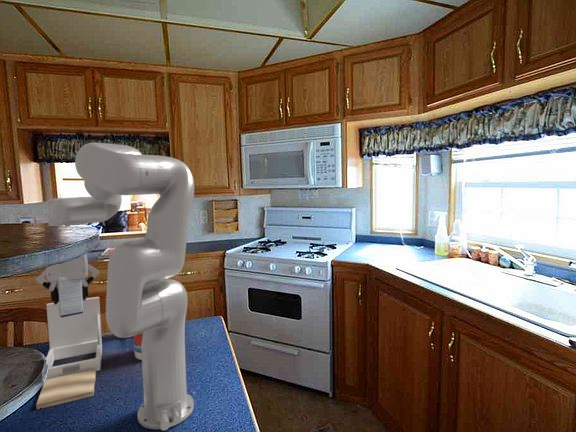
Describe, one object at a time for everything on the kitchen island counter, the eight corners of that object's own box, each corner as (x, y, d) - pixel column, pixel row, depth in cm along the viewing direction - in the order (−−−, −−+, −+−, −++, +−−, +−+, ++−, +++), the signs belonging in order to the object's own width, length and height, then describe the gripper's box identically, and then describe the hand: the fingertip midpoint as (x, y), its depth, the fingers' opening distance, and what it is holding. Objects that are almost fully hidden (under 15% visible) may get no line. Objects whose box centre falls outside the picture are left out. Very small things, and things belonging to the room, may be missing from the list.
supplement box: (84, 313, 101) (81, 274, 100) (60, 318, 98) (56, 278, 97) (82, 307, 106) (79, 271, 105) (59, 312, 103) (55, 274, 102)
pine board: (93, 395, 89) (93, 391, 88) (36, 409, 83) (36, 404, 83) (96, 372, 99) (95, 368, 99) (45, 383, 94) (45, 379, 94)
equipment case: (100, 371, 100) (96, 312, 98) (41, 384, 94) (36, 322, 92) (102, 348, 114) (98, 296, 112) (51, 358, 108) (47, 303, 106)
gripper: (26, 245, 93) (32, 310, 95) (99, 239, 101) (103, 299, 102) (32, 241, 100) (37, 302, 101) (100, 236, 107) (104, 293, 109)
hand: (70, 300), depth 102 cm, fingers closed on supplement box, 6 cm apart
